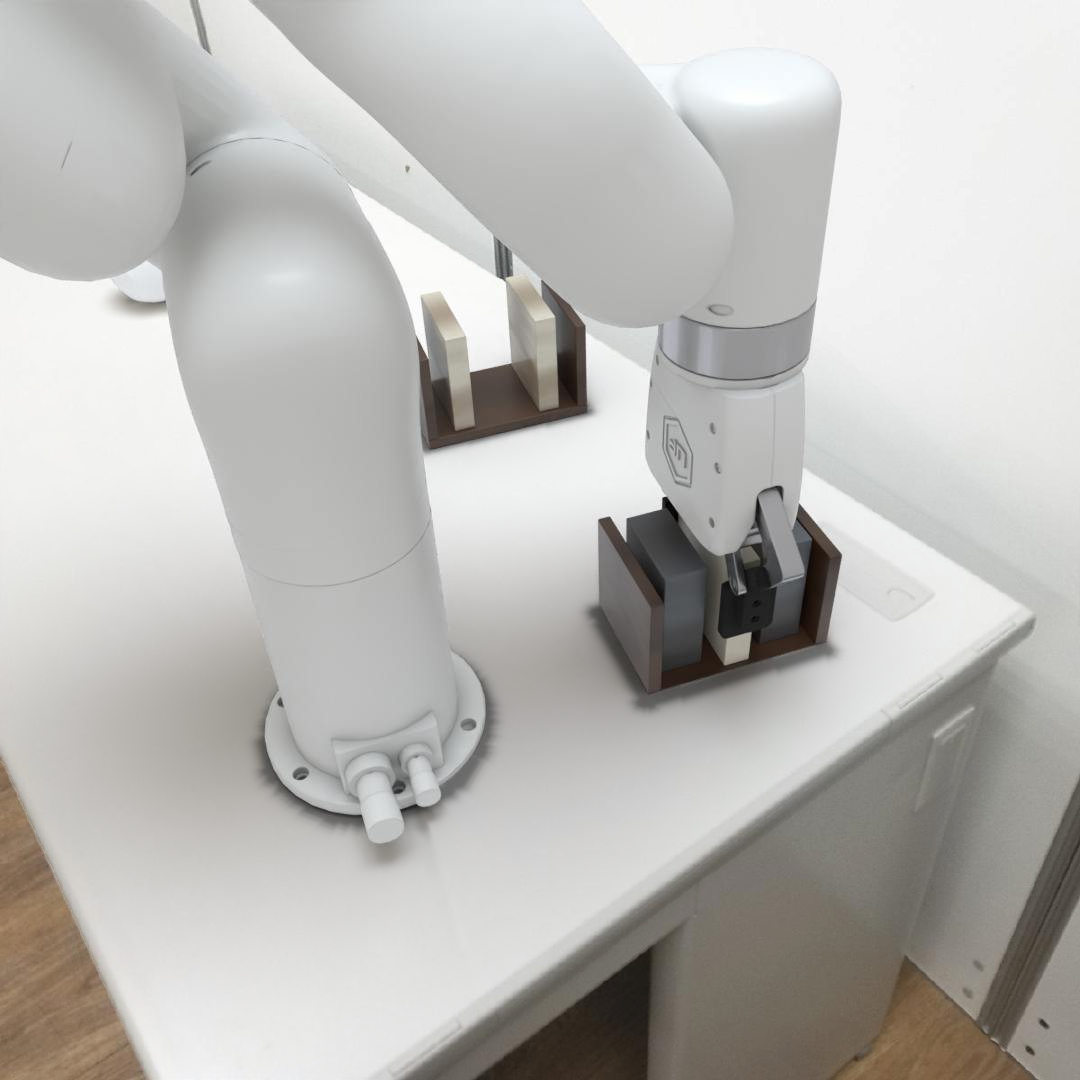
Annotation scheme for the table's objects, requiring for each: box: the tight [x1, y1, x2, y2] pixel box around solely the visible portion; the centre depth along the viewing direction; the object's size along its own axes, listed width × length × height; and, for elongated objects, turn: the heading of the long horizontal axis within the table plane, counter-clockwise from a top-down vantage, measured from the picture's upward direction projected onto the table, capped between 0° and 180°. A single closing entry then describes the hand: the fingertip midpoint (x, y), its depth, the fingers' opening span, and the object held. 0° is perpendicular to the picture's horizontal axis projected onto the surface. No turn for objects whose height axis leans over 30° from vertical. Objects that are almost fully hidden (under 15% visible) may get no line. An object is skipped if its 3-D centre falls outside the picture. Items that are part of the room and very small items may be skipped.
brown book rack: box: [416, 273, 588, 450], centre depth 86 cm, size 8×13×9 cm, turn 109°
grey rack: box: [597, 502, 843, 695], centre depth 66 cm, size 8×12×8 cm
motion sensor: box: [110, 261, 166, 303], centre depth 102 cm, size 8×8×8 cm
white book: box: [678, 513, 760, 665], centre depth 66 cm, size 7×2×8 cm, turn 19°
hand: (714, 583), depth 66 cm, fingers closed on white book, 7 cm apart
